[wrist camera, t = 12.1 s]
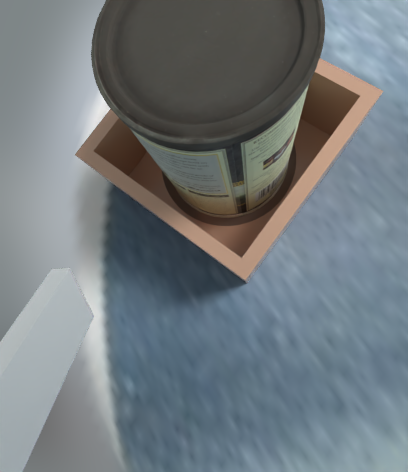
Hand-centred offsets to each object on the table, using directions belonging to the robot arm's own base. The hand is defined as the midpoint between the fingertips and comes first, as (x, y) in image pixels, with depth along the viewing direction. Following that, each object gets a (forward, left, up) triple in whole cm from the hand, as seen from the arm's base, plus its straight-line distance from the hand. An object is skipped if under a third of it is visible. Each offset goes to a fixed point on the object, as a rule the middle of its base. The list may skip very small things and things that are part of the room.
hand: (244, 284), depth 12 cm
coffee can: (-8, -8, -14) cm, 18 cm away
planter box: (-8, -8, -14) cm, 18 cm away
